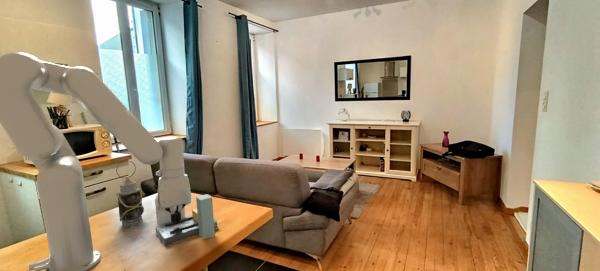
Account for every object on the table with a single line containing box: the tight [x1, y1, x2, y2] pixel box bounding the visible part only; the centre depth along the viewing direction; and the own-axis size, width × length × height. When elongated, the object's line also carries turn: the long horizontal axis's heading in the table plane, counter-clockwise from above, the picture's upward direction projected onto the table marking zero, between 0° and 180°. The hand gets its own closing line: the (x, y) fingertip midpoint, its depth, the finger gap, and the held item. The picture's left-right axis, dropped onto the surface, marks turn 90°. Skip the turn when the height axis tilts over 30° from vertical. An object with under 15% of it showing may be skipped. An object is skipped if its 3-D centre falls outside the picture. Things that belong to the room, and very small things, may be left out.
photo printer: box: [154, 194, 186, 226], centre depth 108 cm, size 10×4×12 cm, turn 123°
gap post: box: [195, 193, 216, 240], centre depth 96 cm, size 4×4×14 cm
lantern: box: [115, 159, 145, 228], centre depth 105 cm, size 9×8×25 cm
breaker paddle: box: [191, 207, 198, 223], centre depth 103 cm, size 3×5×4 cm, turn 40°
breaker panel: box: [155, 215, 219, 247], centre depth 100 cm, size 18×12×3 cm, turn 130°
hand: (176, 222), depth 98 cm, fingers closed
